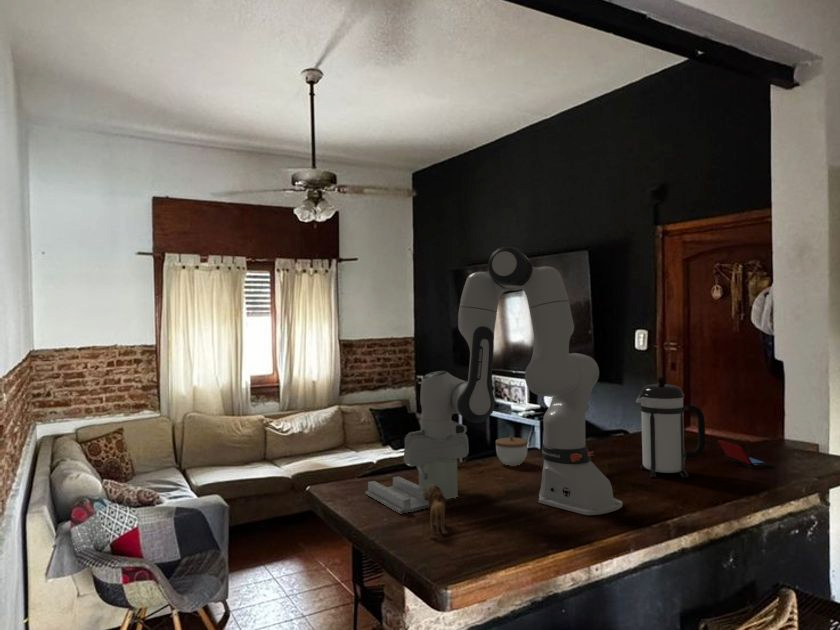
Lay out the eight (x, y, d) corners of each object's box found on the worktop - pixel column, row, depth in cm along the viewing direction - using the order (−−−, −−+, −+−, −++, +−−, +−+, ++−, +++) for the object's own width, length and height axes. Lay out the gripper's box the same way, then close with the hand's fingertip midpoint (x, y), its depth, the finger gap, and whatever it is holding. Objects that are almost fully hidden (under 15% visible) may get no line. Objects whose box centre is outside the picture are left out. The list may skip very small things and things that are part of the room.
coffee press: (676, 483, 169) (673, 380, 169) (628, 472, 182) (625, 376, 182) (707, 473, 179) (704, 376, 180) (659, 463, 192) (657, 372, 192)
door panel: (458, 497, 161) (457, 461, 161) (445, 500, 159) (444, 463, 159) (430, 485, 173) (429, 452, 173) (418, 488, 170) (418, 454, 170)
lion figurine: (421, 519, 144) (421, 483, 144) (443, 518, 145) (442, 481, 145) (431, 542, 129) (430, 501, 129) (454, 540, 130) (454, 500, 130)
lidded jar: (509, 469, 188) (509, 440, 189) (489, 462, 198) (488, 435, 198) (534, 464, 194) (534, 436, 194) (514, 458, 203) (513, 431, 203)
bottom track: (439, 505, 154) (439, 492, 154) (400, 514, 148) (400, 500, 148) (401, 487, 171) (401, 475, 171) (365, 495, 165) (364, 482, 165)
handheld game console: (773, 468, 184) (773, 445, 184) (742, 470, 183) (741, 446, 183) (747, 458, 197) (746, 436, 197) (717, 460, 195) (716, 438, 195)
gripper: (410, 434, 158) (411, 485, 158) (471, 426, 169) (472, 473, 169) (399, 431, 163) (400, 480, 163) (458, 422, 174) (459, 469, 174)
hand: (437, 476), depth 166 cm, fingers open, 7 cm apart
